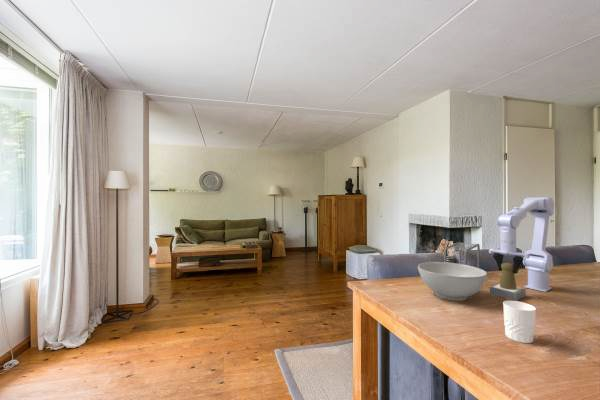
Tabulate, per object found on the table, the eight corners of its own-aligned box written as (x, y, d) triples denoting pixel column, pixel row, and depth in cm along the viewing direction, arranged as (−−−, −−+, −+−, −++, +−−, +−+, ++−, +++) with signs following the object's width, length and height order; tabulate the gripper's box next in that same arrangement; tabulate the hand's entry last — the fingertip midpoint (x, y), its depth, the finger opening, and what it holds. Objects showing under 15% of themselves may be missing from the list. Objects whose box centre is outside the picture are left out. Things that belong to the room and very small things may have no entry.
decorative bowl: (492, 295, 120) (492, 268, 120) (480, 313, 100) (480, 281, 100) (428, 282, 138) (428, 259, 138) (408, 296, 119) (408, 268, 119)
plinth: (499, 289, 128) (499, 282, 128) (525, 296, 119) (525, 288, 119) (489, 293, 122) (489, 286, 122) (516, 300, 114) (516, 292, 114)
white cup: (496, 332, 86) (496, 300, 86) (519, 331, 87) (519, 300, 87) (518, 345, 79) (518, 311, 79) (543, 344, 79) (543, 310, 79)
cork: (519, 290, 117) (519, 264, 117) (503, 289, 118) (504, 264, 118) (511, 285, 123) (512, 261, 123) (496, 284, 124) (497, 261, 124)
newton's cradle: (466, 285, 134) (466, 250, 134) (443, 281, 141) (443, 247, 141) (479, 274, 155) (479, 243, 155) (459, 270, 162) (459, 241, 162)
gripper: (485, 240, 124) (485, 269, 124) (524, 244, 112) (524, 277, 112) (492, 239, 128) (492, 267, 128) (531, 243, 116) (531, 274, 116)
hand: (508, 271), depth 120 cm, fingers closed on cork, 5 cm apart
